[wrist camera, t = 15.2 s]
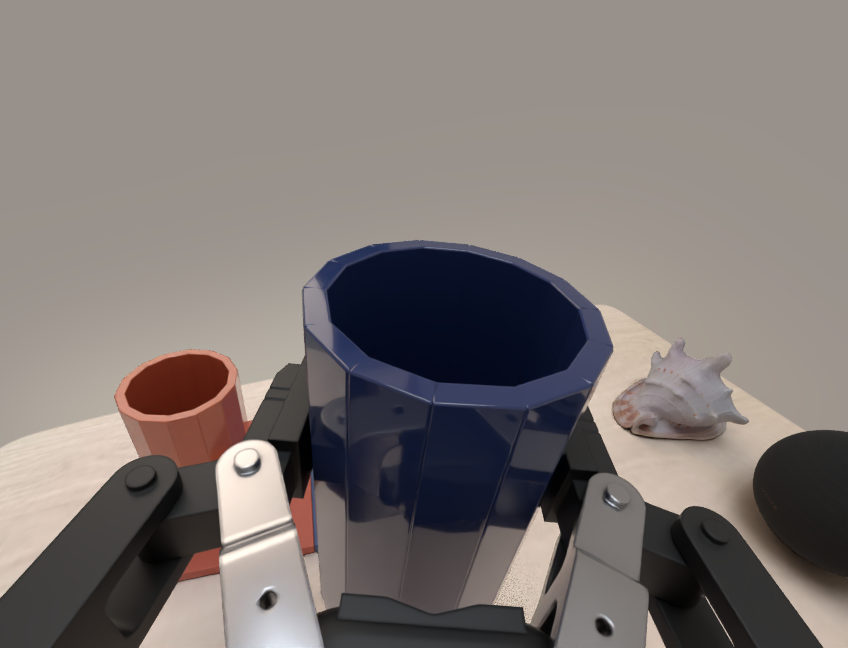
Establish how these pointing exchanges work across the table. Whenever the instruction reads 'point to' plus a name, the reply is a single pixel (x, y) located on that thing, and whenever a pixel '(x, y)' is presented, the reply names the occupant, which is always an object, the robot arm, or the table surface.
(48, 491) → the table surface
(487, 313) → the blue cup
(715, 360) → the seashell
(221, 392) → the red cup
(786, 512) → the speaker
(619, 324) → the table surface
